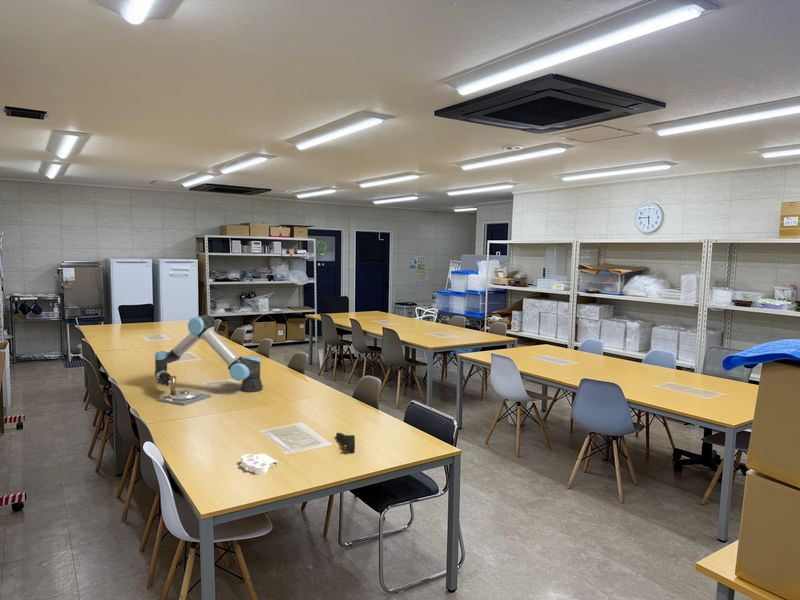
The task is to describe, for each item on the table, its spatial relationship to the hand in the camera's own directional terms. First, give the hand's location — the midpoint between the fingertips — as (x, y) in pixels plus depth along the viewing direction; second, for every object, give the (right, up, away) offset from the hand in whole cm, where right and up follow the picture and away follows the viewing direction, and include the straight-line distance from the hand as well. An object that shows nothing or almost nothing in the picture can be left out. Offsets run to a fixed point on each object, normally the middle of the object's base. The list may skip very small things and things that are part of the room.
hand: (171, 384), depth 338 cm
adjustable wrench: (+119, -19, -73) cm, 140 cm away
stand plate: (+7, -10, +4) cm, 13 cm away
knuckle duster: (+82, -21, -101) cm, 132 cm away
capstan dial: (+7, -8, +4) cm, 11 cm away
